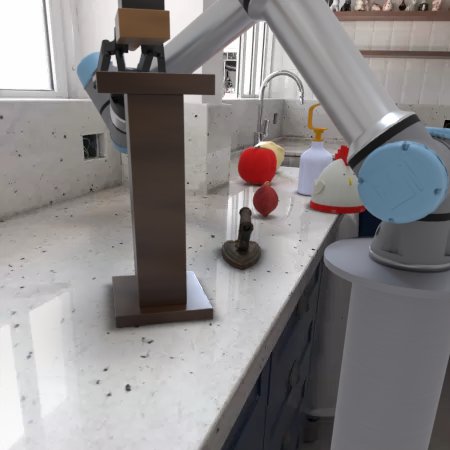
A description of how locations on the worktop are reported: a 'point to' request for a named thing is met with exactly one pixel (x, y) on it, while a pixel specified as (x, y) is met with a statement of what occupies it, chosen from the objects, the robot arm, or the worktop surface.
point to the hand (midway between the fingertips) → (135, 15)
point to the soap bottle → (313, 159)
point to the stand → (157, 198)
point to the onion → (265, 199)
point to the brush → (142, 23)
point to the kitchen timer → (337, 187)
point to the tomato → (257, 165)
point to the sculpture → (276, 148)
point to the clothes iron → (242, 244)
